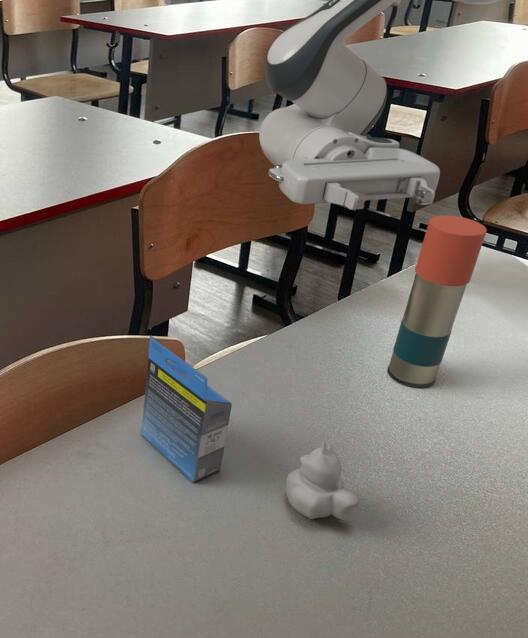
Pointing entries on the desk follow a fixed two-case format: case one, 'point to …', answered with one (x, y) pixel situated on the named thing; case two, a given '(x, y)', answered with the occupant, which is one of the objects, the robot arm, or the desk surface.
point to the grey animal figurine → (320, 486)
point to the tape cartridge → (183, 414)
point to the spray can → (424, 332)
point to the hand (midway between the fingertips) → (394, 201)
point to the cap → (450, 250)
